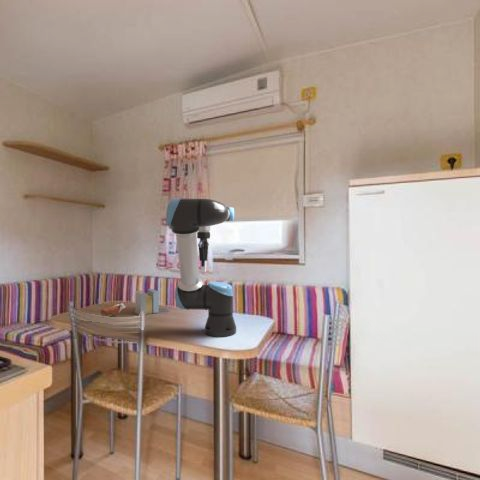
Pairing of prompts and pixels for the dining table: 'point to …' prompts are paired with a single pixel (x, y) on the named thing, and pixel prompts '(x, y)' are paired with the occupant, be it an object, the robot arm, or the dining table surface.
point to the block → (149, 304)
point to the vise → (144, 303)
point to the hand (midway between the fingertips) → (203, 271)
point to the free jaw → (154, 299)
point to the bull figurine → (112, 310)
